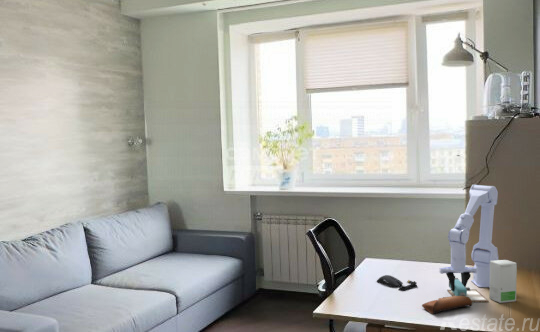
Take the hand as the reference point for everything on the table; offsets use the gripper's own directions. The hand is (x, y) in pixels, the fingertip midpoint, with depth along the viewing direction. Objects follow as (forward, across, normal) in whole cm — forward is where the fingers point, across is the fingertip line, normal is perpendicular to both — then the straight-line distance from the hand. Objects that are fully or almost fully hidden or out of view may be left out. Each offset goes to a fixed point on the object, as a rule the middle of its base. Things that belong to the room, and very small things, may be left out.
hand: (457, 290), depth 214 cm
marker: (+1, 0, 0) cm, 1 cm away
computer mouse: (+3, -21, +17) cm, 27 cm away
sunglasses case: (+2, -9, -14) cm, 17 cm away
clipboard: (+2, +4, -1) cm, 4 cm away
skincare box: (+3, +16, -5) cm, 17 cm away
